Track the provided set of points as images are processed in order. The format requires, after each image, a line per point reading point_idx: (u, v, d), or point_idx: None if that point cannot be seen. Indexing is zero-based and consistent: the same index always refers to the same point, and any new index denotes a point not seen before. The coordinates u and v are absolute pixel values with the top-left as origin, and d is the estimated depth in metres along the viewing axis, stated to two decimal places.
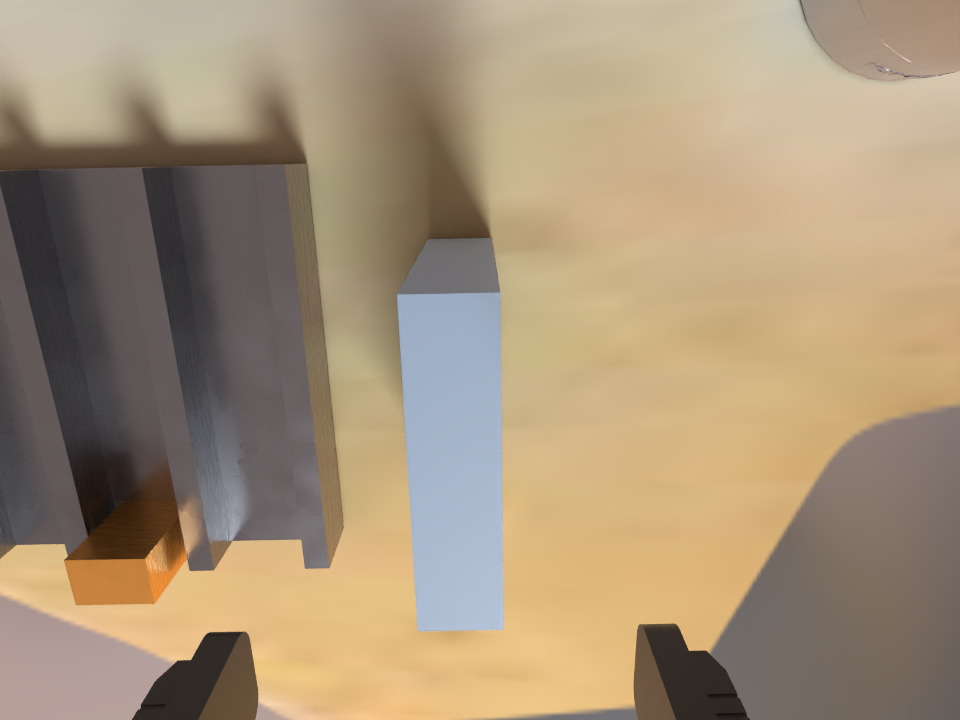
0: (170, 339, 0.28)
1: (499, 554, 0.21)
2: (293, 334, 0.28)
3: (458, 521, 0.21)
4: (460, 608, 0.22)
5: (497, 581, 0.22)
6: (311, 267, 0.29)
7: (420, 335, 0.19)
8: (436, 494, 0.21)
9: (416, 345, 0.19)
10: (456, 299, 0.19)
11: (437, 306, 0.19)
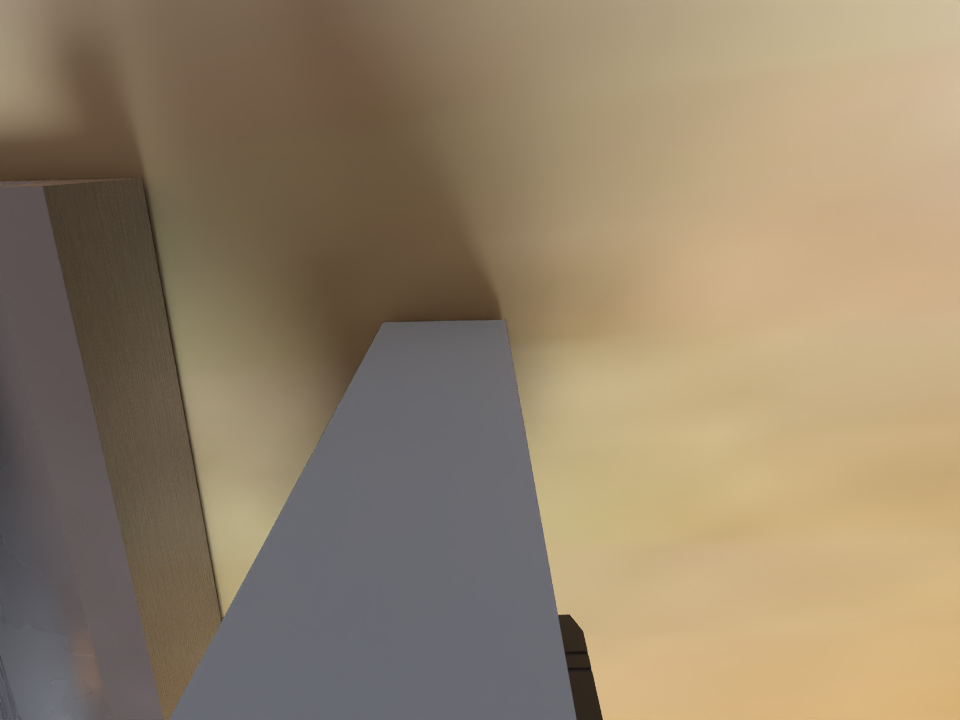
0: None
1: None
2: (100, 531, 0.13)
3: None
4: None
5: None
6: (156, 380, 0.15)
7: None
8: None
9: None
10: None
11: None
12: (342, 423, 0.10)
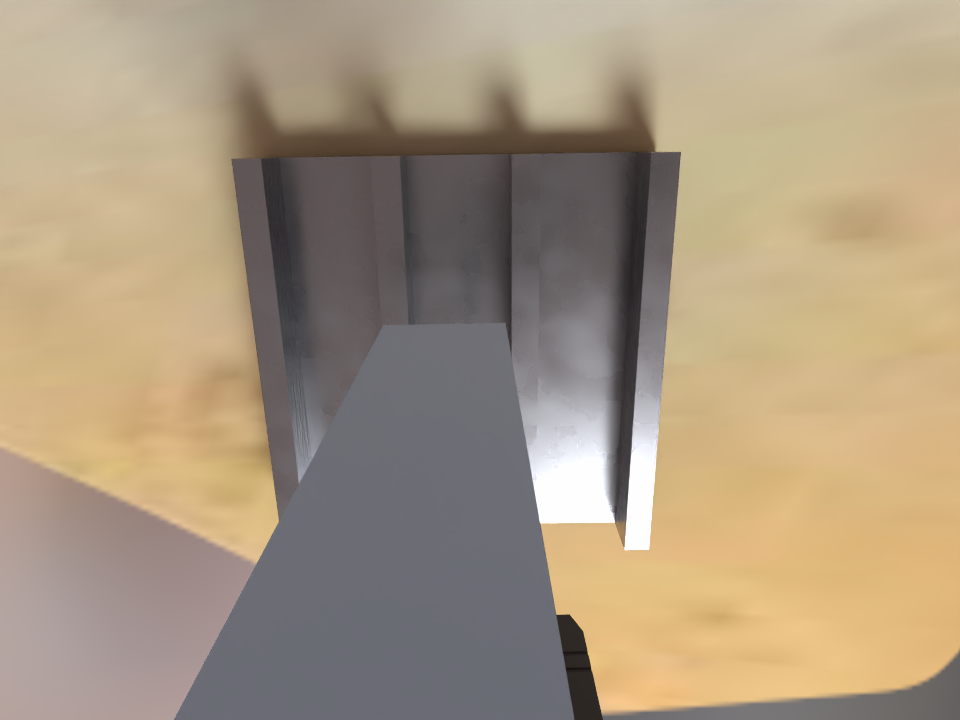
0: (536, 323, 0.28)
1: None
2: (657, 318, 0.28)
3: None
4: None
5: None
6: None
7: None
8: None
9: None
10: None
11: None
12: (342, 428, 0.10)
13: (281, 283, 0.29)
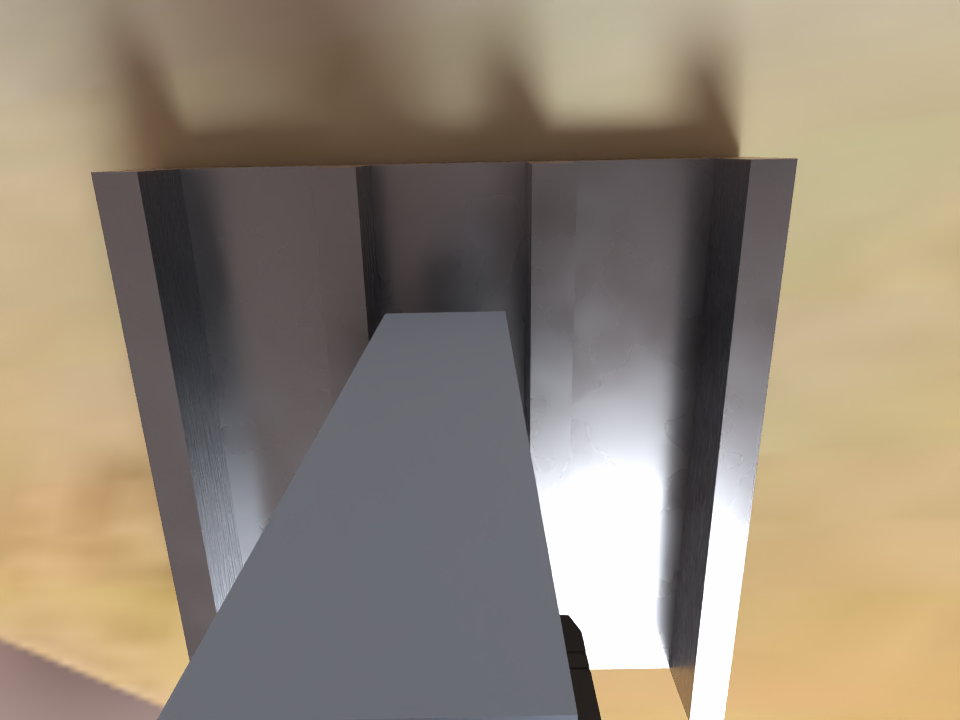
0: (567, 416, 0.19)
1: None
2: (750, 408, 0.19)
3: None
4: None
5: None
6: None
7: None
8: None
9: None
10: None
11: None
12: (346, 406, 0.10)
13: (183, 357, 0.19)
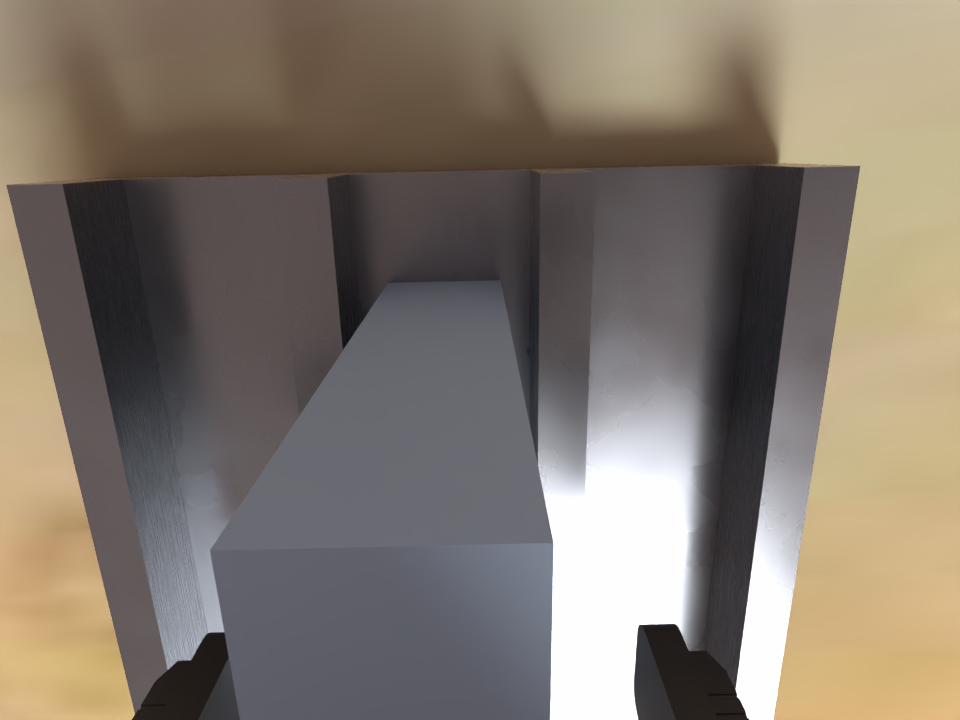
0: (581, 469, 0.16)
1: None
2: (797, 459, 0.16)
3: None
4: None
5: None
6: None
7: (295, 665, 0.06)
8: None
9: (287, 689, 0.06)
10: (409, 561, 0.06)
11: (346, 584, 0.06)
12: (355, 350, 0.11)
13: (128, 402, 0.16)
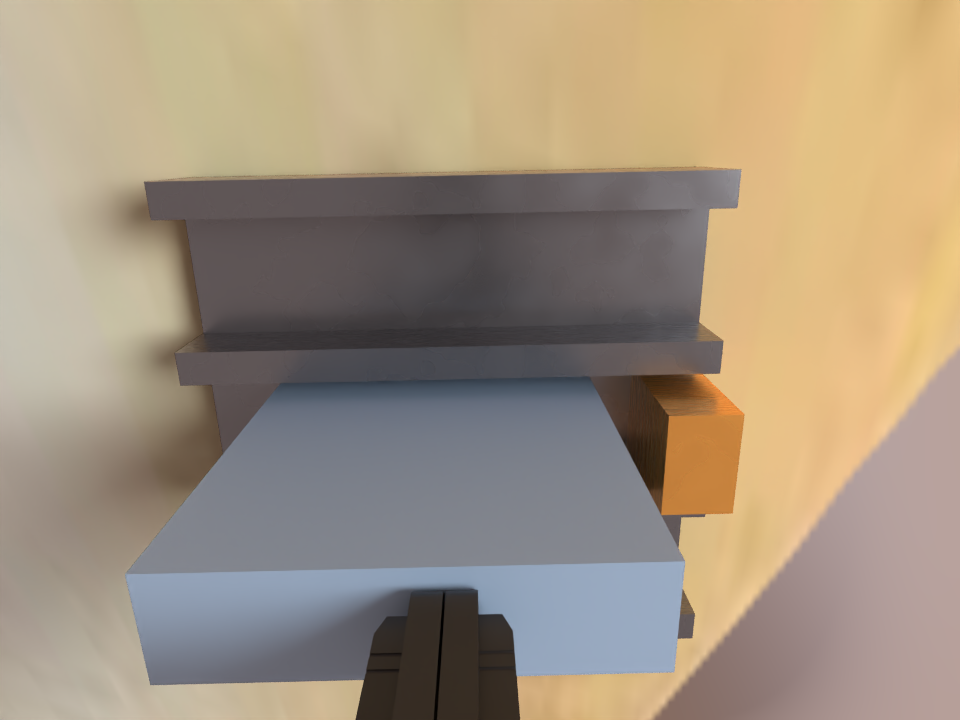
0: (381, 351, 0.22)
1: (541, 569, 0.14)
2: (366, 190, 0.20)
3: None
4: (637, 618, 0.14)
5: (590, 571, 0.14)
6: None
7: (201, 662, 0.14)
8: None
9: (215, 666, 0.14)
10: (143, 622, 0.14)
11: (157, 643, 0.14)
12: None
13: None
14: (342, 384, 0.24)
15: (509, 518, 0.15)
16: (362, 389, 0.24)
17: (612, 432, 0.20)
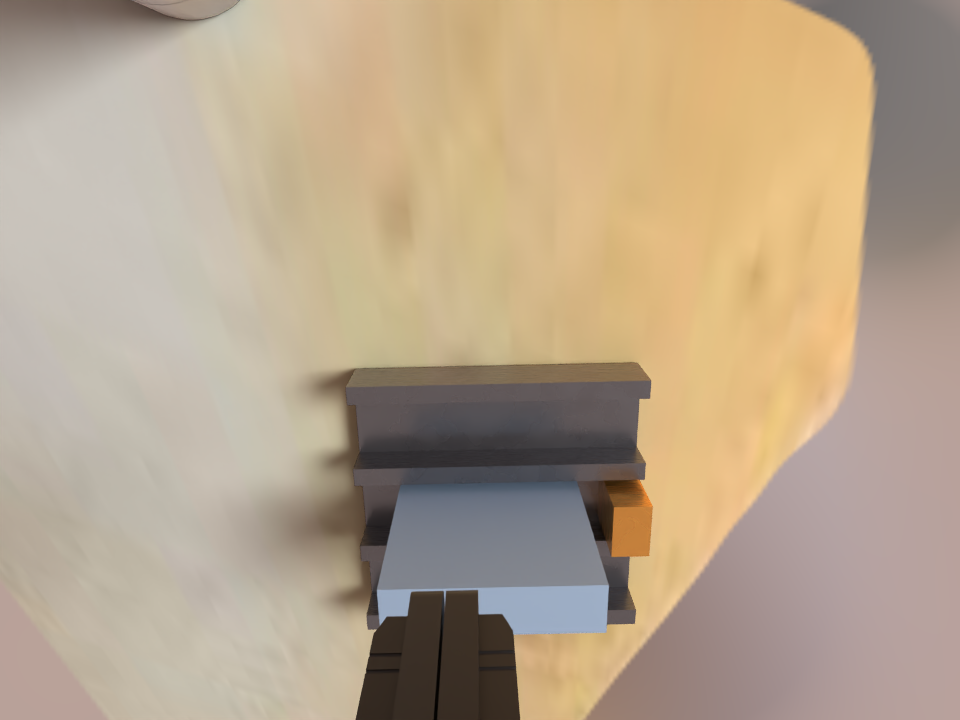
0: (463, 468, 0.41)
1: (548, 588, 0.33)
2: (458, 391, 0.40)
3: (523, 610, 0.33)
4: (589, 609, 0.33)
5: (569, 589, 0.33)
6: (421, 372, 0.42)
7: None
8: None
9: None
10: (381, 610, 0.33)
11: None
12: None
13: None
14: None
15: (534, 565, 0.35)
16: (449, 484, 0.43)
17: (584, 516, 0.39)
